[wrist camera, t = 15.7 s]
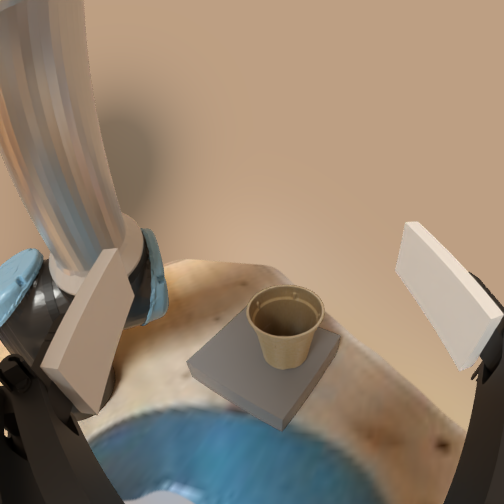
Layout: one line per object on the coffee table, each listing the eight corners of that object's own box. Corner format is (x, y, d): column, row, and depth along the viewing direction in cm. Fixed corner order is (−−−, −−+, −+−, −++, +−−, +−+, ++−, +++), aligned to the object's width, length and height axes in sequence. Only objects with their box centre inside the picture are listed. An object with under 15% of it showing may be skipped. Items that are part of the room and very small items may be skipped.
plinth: (192, 376, 41) (186, 361, 39) (254, 316, 52) (253, 299, 49) (282, 431, 32) (282, 419, 30) (337, 352, 43) (340, 335, 41)
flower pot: (243, 373, 37) (235, 331, 32) (260, 325, 44) (257, 280, 40) (313, 384, 34) (320, 342, 30) (321, 332, 42) (327, 287, 37)
